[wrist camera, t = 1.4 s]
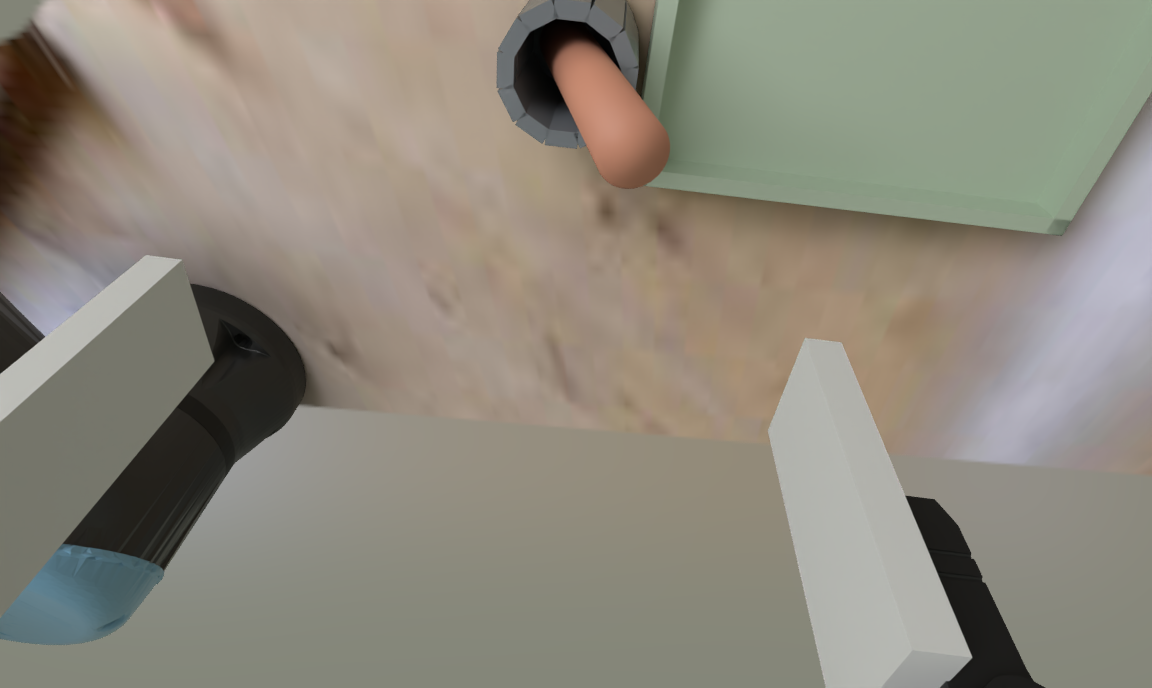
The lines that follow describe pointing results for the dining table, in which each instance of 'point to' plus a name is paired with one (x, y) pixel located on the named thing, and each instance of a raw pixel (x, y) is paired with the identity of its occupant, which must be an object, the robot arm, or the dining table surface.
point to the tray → (899, 102)
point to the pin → (604, 106)
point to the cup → (530, 78)
